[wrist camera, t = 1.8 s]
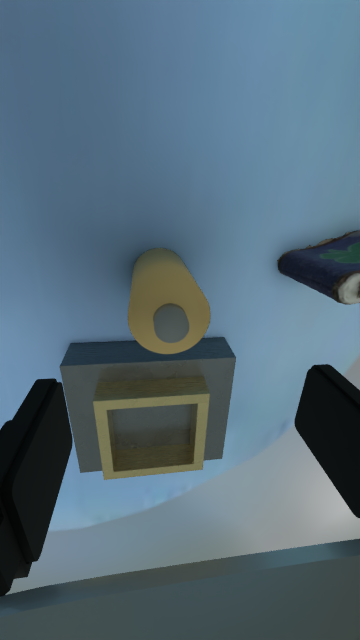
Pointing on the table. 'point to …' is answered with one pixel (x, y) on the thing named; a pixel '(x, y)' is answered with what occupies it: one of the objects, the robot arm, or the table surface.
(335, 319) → the table surface
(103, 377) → the grey square socket base
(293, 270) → the wallet
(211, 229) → the table surface
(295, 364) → the table surface
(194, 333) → the cylinder
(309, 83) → the table surface
